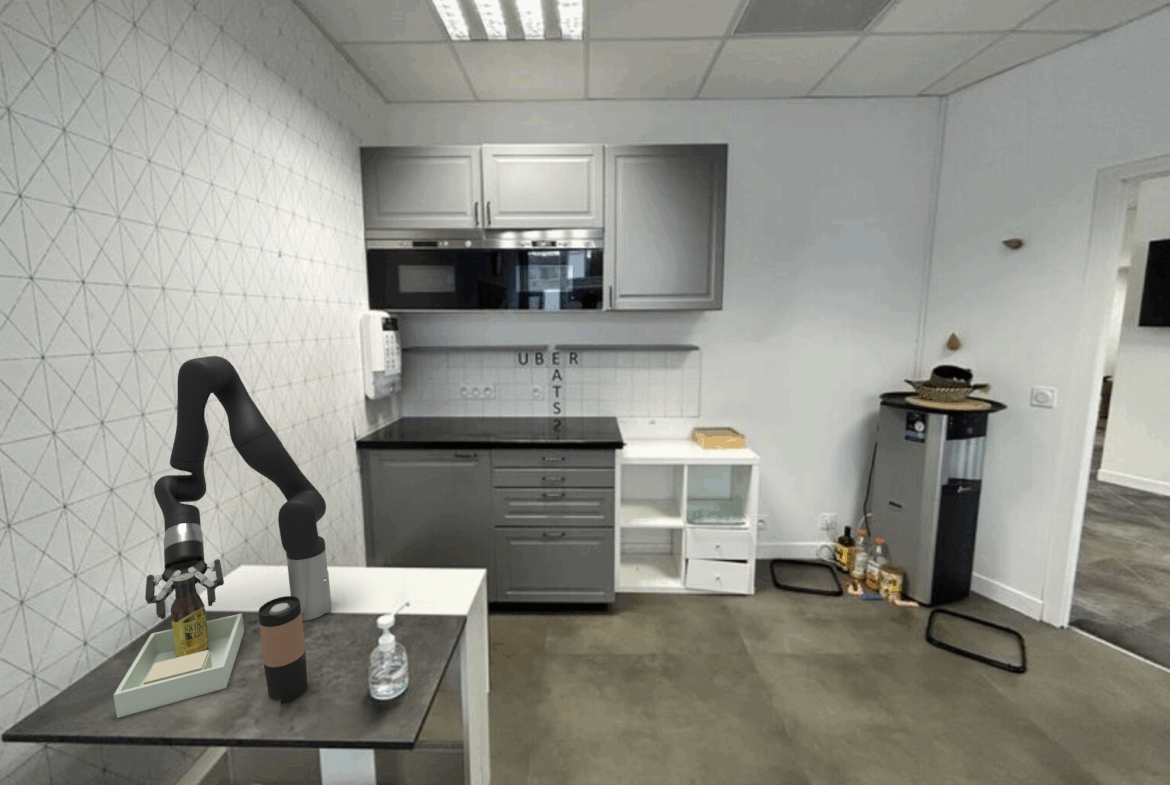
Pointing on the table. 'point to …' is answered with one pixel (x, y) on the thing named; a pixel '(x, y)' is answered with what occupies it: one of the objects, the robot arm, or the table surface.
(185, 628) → the sauce bottle
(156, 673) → the beige lidded box
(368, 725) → the table surface
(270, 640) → the travel mug
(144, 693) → the tote
